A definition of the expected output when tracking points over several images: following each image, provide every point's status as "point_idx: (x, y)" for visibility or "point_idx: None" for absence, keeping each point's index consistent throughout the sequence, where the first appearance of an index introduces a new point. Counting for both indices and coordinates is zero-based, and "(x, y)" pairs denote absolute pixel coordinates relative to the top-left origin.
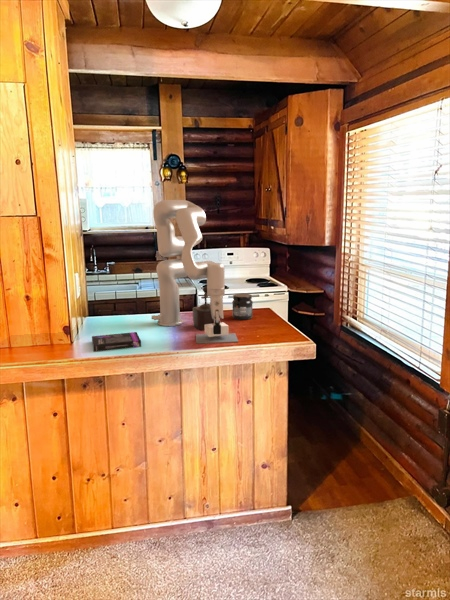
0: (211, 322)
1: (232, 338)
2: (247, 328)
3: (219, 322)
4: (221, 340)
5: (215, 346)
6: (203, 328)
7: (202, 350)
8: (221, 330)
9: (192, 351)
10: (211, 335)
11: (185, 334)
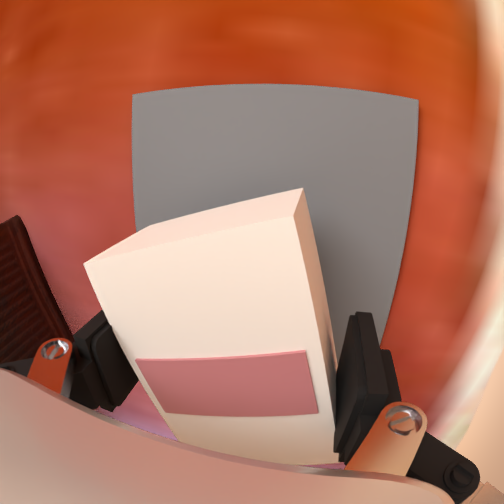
0: (9, 295)
1: (311, 137)
2: (41, 22)
3: (412, 455)
4: (355, 266)
5: (458, 329)
6: (60, 333)
7: (478, 400)
8: (322, 310)
9: (461, 435)
10: None
11: (152, 426)
